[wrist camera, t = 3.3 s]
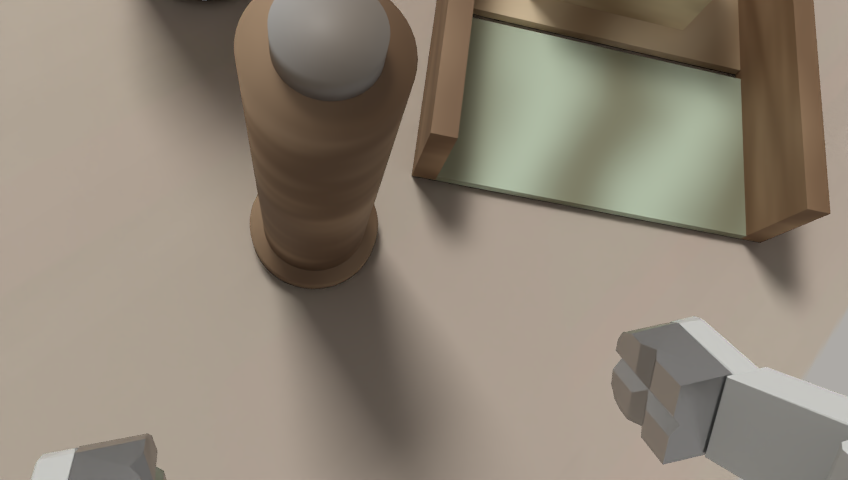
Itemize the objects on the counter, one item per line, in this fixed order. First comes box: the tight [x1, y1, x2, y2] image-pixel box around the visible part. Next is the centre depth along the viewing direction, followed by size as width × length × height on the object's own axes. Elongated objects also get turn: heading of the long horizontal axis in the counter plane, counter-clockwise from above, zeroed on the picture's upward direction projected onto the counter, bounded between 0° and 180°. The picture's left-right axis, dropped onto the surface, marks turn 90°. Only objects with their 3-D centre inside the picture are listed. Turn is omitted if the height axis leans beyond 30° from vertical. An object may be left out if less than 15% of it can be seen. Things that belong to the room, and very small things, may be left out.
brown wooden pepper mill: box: [234, 0, 418, 289], centre depth 19 cm, size 5×5×13 cm
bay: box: [412, 0, 830, 243], centre depth 28 cm, size 16×17×4 cm
